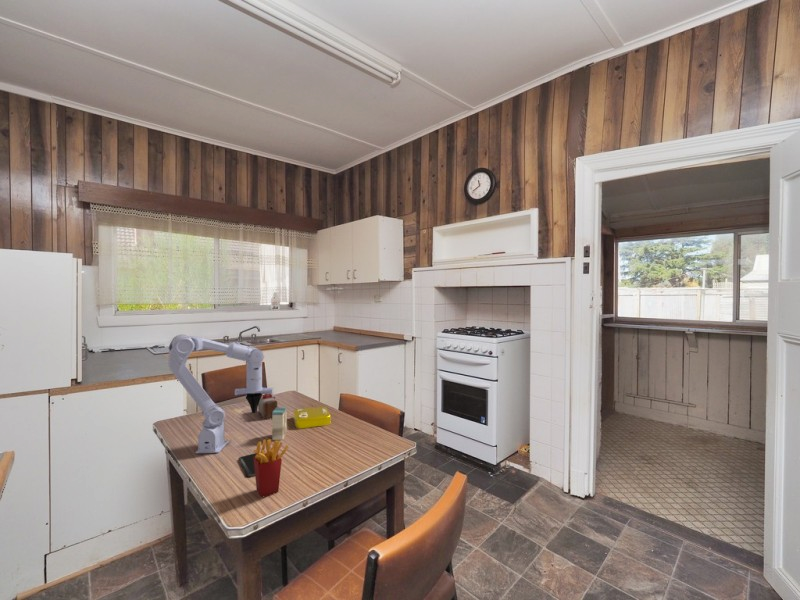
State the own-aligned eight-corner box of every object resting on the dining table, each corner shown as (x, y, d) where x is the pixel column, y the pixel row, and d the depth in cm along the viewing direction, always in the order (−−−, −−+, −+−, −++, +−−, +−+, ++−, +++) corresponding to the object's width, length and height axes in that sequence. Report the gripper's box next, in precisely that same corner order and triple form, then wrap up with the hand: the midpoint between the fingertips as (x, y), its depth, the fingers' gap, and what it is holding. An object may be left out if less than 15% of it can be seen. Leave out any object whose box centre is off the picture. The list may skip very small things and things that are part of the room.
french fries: (258, 500, 97) (258, 447, 97) (251, 487, 104) (251, 437, 104) (289, 490, 103) (289, 439, 102) (280, 478, 109) (281, 430, 109)
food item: (256, 412, 170) (256, 391, 170) (273, 409, 174) (273, 389, 174) (262, 420, 158) (262, 399, 158) (280, 417, 163) (280, 396, 163)
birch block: (282, 439, 138) (282, 412, 138) (272, 440, 137) (272, 412, 137) (286, 433, 144) (286, 407, 144) (276, 434, 143) (276, 407, 143)
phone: (248, 475, 109) (238, 457, 121) (248, 479, 109) (238, 460, 121) (273, 468, 114) (262, 451, 126) (273, 472, 114) (262, 454, 126)
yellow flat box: (331, 425, 154) (331, 414, 154) (296, 430, 148) (296, 419, 148) (325, 414, 168) (325, 404, 168) (293, 418, 162) (293, 408, 162)
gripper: (275, 375, 144) (275, 408, 144) (239, 376, 143) (239, 409, 143) (270, 379, 137) (270, 414, 137) (232, 380, 136) (232, 415, 136)
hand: (254, 412), depth 140 cm, fingers closed
